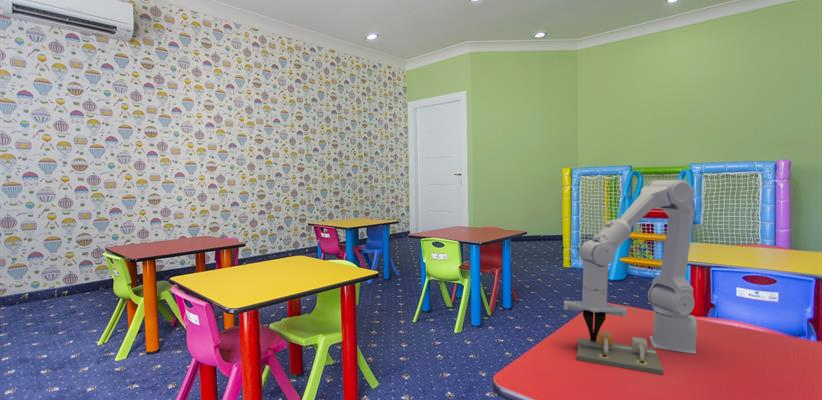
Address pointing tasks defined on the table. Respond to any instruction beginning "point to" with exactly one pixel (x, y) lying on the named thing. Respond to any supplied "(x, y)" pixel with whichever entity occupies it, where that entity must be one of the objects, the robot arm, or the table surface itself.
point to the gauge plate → (618, 356)
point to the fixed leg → (640, 346)
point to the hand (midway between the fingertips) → (593, 340)
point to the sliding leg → (605, 340)
